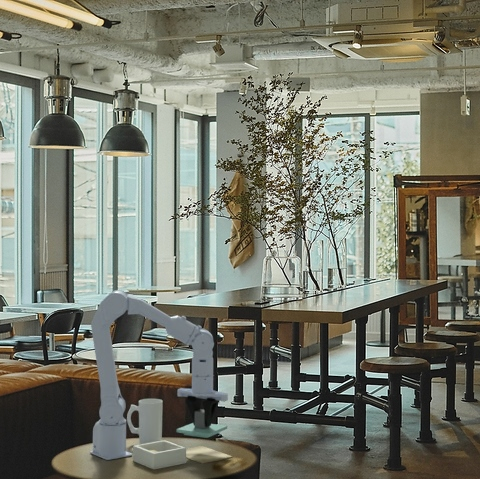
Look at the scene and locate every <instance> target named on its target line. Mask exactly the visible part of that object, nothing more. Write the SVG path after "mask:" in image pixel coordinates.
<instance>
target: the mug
mask: <svg viewBox="0 0 480 479" xmlns="http://www.w3.org/2000/svg"><path fill="white" fill-rule="evenodd" d="M135 411H136V412H138V427H134V425H133V423H132V419H131V417H132V414H133V412H135ZM126 416H127V417H126V423H127V425H128V428H129V430H130V432H131V433H132V434H137V435H138V436H139V441H138V442H139V445H140V444H146V443H152V442H157V441H163V439H162V435H163V400H162V399H159V398H143V399H140V400H138V405H135V404H130V408H129V410H128V412H127V415H126Z"/></svg>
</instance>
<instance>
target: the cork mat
mask: <svg viewBox="0 0 480 479" xmlns="http://www.w3.org/2000/svg"><path fill="white" fill-rule="evenodd" d="M232 458H234V457H233V455H230V454H226V453H223V452H221V451H219V450H218V451H217V450H215V449H212V448H210V447H206V446H203V445H199V446H194V447H188V448H187V447H186V459H189V460H192V461H194V462H196V463H199V464H202V465H203V464H208V463H212V462H217V461H222V460H227V459H232Z"/></svg>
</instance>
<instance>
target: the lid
mask: <svg viewBox="0 0 480 479" xmlns="http://www.w3.org/2000/svg"><path fill="white" fill-rule="evenodd" d="M227 429H228V426H227V425H225V424H224V425H223V424H215V423H211V426H208V427H205V412H204V409H201V408H200V410H197V411H195V425H194V424H193V422H192V423H189V424H186V425H184V426H181V427H178V428H176V433H180V434H183V435H184V436H189V437H198V438H206V439H207V438H210V437H213V436H215V435H217V434H220V433H221V432H224V431H225V430H227Z"/></svg>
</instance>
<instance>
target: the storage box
mask: <svg viewBox="0 0 480 479" xmlns="http://www.w3.org/2000/svg"><path fill="white" fill-rule="evenodd" d="M186 449H187V447H185V446H182V445H180V444H176V443H174V442H171V441H168V440H166V439H164V440H163V439H162V441H157V442H152V443H146V444H140V443H139V444H135V445H132V462H134V463H137V464H140V465H143V466H145V467H147V468H149V469H151V470H157V469H162V468H164V469H165V468H168V467H173V466H178V465H182V464H186V463H187V458H186Z"/></svg>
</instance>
